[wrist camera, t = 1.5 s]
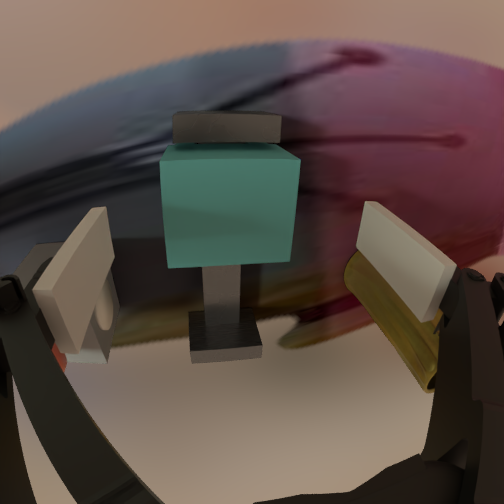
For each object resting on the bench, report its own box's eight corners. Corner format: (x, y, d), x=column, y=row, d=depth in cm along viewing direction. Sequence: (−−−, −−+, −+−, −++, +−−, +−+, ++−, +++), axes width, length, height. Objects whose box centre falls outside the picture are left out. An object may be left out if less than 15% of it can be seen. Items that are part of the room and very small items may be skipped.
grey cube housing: (57, 307, 24) (35, 359, 18) (36, 244, 21) (0, 291, 15) (123, 306, 26) (110, 363, 20) (107, 239, 22) (83, 290, 16)
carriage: (263, 215, 23) (289, 261, 18) (173, 219, 22) (168, 268, 16) (268, 139, 21) (300, 159, 15) (170, 141, 19) (159, 161, 13)
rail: (250, 319, 29) (261, 357, 25) (189, 324, 28) (191, 363, 24) (262, 111, 20) (281, 115, 15) (177, 111, 19) (172, 115, 14)
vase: (358, 301, 31) (426, 403, 19) (332, 270, 28) (410, 386, 16) (400, 265, 30) (482, 356, 17) (379, 229, 27) (480, 326, 14)
